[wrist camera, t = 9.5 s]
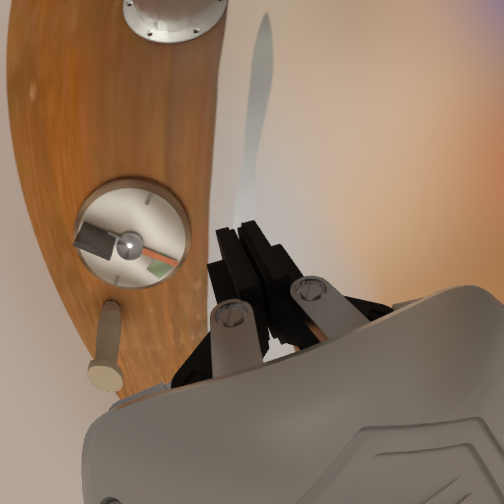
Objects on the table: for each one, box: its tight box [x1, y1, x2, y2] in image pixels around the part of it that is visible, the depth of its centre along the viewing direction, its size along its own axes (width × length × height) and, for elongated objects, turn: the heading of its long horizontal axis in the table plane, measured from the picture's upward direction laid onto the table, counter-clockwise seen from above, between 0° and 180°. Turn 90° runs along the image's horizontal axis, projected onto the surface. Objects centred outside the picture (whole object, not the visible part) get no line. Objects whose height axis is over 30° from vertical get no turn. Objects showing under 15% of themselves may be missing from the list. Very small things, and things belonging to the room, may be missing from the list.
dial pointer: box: [73, 222, 178, 267], centre depth 34 cm, size 14×4×5 cm, turn 55°
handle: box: [87, 301, 123, 392], centre depth 38 cm, size 5×6×15 cm
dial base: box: [74, 177, 191, 290], centre depth 38 cm, size 17×17×3 cm
